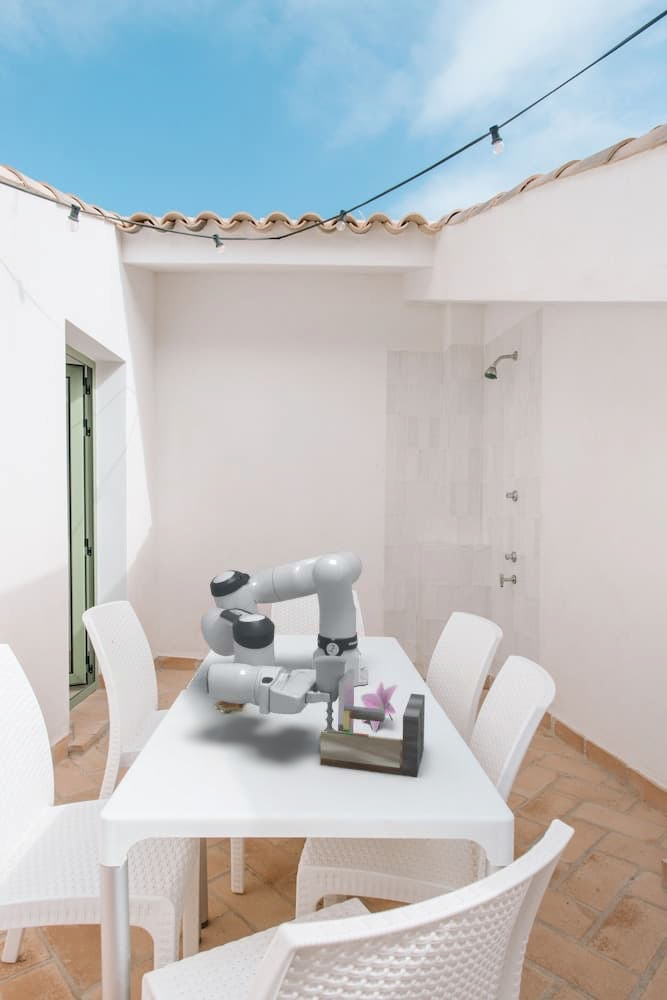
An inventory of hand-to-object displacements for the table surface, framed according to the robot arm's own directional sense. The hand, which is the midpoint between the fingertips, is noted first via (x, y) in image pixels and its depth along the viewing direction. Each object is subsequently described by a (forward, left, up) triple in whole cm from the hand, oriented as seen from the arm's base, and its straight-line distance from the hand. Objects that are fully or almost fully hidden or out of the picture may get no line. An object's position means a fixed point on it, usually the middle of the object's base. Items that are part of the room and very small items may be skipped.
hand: (333, 692), depth 131 cm
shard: (-20, -33, -14) cm, 41 cm away
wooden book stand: (0, +9, -13) cm, 16 cm away
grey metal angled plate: (+1, +7, -11) cm, 13 cm away
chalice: (0, -1, -11) cm, 11 cm away
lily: (-19, +7, -13) cm, 24 cm away
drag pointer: (+5, +4, -11) cm, 13 cm away
